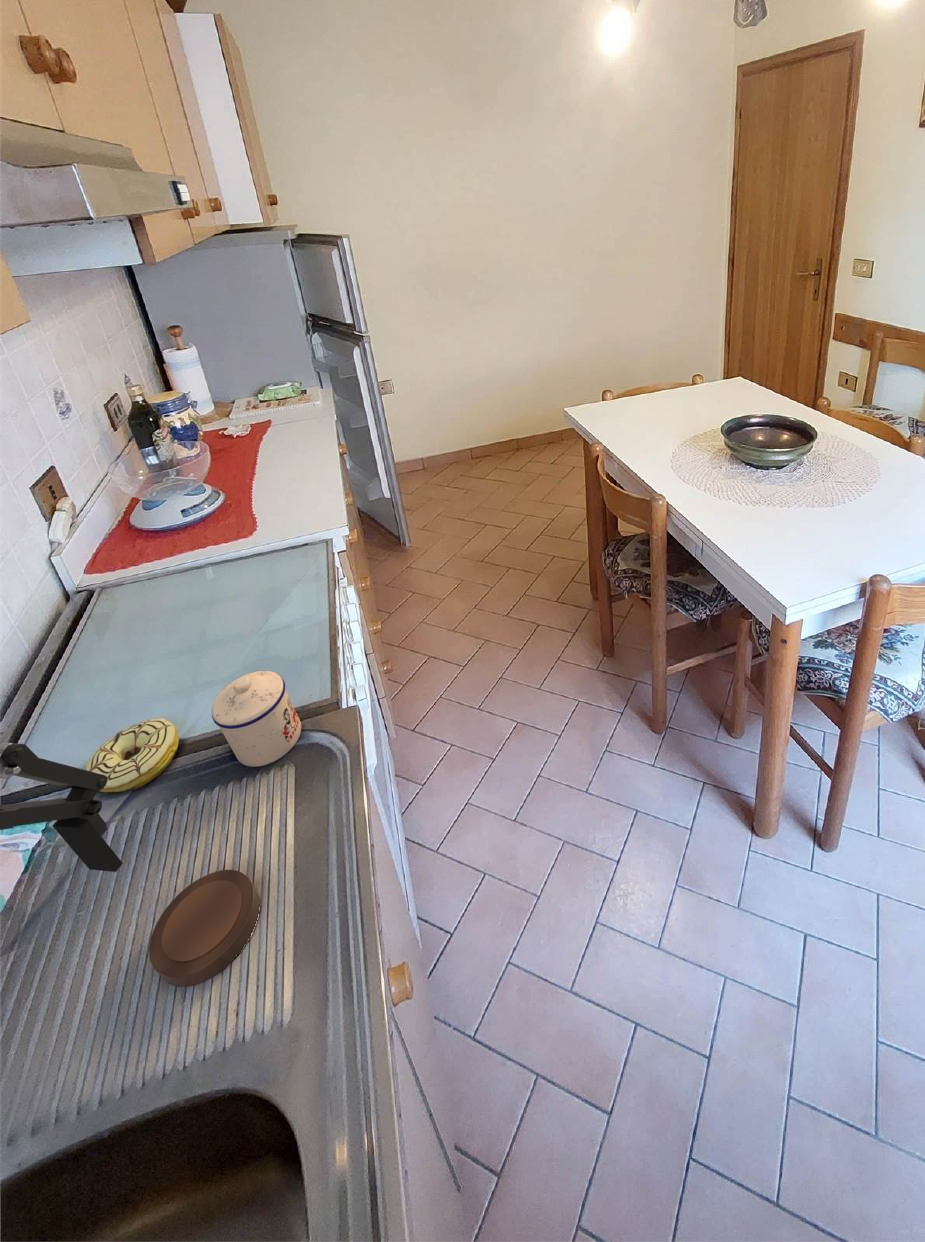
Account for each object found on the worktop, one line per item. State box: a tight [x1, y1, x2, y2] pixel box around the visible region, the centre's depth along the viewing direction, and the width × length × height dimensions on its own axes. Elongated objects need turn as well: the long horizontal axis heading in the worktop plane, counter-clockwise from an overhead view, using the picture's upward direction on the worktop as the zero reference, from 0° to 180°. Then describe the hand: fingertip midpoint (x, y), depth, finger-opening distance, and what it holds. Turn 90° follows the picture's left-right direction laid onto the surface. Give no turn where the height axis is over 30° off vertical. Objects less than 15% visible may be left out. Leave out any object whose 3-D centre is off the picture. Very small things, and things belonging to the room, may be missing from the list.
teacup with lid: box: [211, 670, 302, 768], centre depth 85 cm, size 12×9×12 cm
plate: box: [148, 869, 261, 988], centre depth 66 cm, size 10×10×2 cm
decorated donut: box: [85, 717, 180, 793], centre depth 85 cm, size 10×11×4 cm
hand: (41, 952), depth 49 cm, fingers open, 12 cm apart
